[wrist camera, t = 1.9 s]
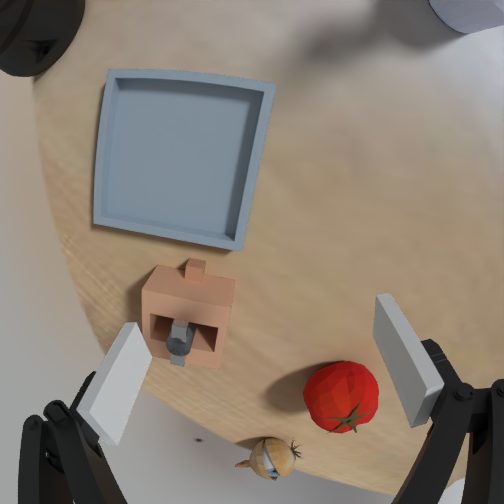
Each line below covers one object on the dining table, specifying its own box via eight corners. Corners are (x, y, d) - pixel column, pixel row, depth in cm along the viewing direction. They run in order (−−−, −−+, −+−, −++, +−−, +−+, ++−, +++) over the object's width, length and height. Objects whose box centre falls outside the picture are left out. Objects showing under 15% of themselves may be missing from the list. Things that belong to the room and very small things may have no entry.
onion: (316, 472, 45) (248, 497, 44) (304, 443, 54) (242, 466, 53) (302, 450, 43) (227, 477, 42) (290, 419, 52) (223, 445, 51)
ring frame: (155, 325, 40) (143, 353, 35) (158, 252, 35) (141, 275, 30) (224, 340, 41) (219, 370, 35) (238, 267, 36) (234, 293, 30)
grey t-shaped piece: (180, 320, 40) (165, 362, 32) (183, 284, 37) (166, 324, 29) (200, 324, 40) (188, 367, 32) (205, 288, 37) (192, 329, 30)
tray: (102, 217, 34) (93, 223, 31) (118, 72, 26) (108, 69, 24) (243, 243, 35) (241, 251, 32) (275, 87, 27) (276, 84, 25)
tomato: (348, 400, 46) (359, 446, 37) (287, 385, 45) (291, 437, 35) (388, 359, 42) (408, 406, 33) (325, 339, 40) (338, 393, 31)
